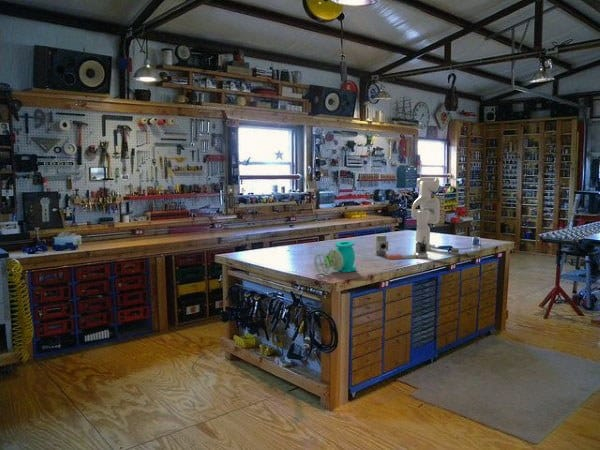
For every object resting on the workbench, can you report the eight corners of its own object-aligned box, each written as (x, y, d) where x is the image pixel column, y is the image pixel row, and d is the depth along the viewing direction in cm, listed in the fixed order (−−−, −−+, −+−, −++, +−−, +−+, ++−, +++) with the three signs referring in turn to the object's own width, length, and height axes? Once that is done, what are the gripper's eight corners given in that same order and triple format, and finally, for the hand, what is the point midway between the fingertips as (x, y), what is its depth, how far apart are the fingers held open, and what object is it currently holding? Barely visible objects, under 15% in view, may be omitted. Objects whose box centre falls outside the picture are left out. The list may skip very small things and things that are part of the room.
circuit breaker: (379, 256, 382) (379, 237, 380) (373, 253, 396) (373, 234, 394) (388, 256, 383) (389, 237, 382) (382, 253, 397) (382, 234, 396)
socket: (422, 251, 382) (423, 242, 381) (426, 253, 376) (426, 243, 376) (415, 251, 381) (415, 242, 380) (418, 253, 375) (419, 244, 374)
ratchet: (424, 256, 385) (424, 247, 384) (429, 258, 375) (430, 249, 374) (383, 257, 378) (383, 248, 378) (388, 259, 369) (388, 250, 368)
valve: (359, 242, 326) (324, 253, 308) (361, 268, 329) (326, 280, 312) (344, 239, 337) (309, 249, 319) (346, 265, 340) (312, 276, 323)
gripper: (412, 225, 384) (411, 248, 386) (422, 228, 367) (421, 252, 369) (421, 225, 385) (420, 248, 388) (431, 228, 369) (430, 252, 371)
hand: (421, 250), depth 378 cm, fingers closed on socket, 6 cm apart
